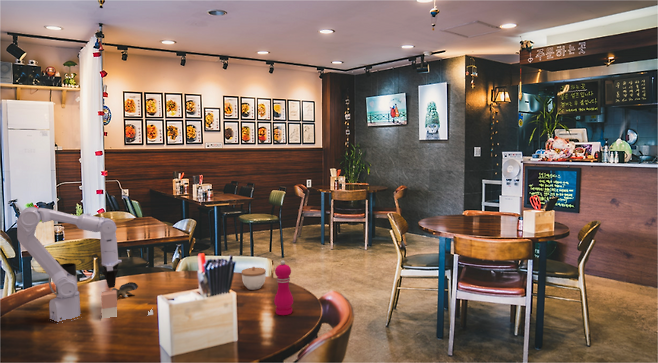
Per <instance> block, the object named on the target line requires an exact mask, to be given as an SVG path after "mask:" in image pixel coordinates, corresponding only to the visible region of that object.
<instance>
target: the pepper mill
mask: <svg viewBox="0 0 658 363" xmlns="http://www.w3.org/2000/svg"><path fill="white" fill-rule="evenodd" d="M291 273H292V268H291V266H290V265H288V264H286V261H285V260H281V261H280V264H279V265H277V266H276V267H275V269H274V274H275V276H276V282H277V291H276V293H275V296H274V300H273V301H274V302H273V303H274V305H275V306H276V307H275V314H276V315H279V316H288V315H291V314H292V313H293V306H292V305H293V304H294V297H293V294H292V292H291V290H290V284H289V283H290V281H291V279H290V278H291V277H290V275H291Z"/></svg>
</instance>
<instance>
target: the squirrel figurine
mask: <svg viewBox="0 0 658 363" xmlns="http://www.w3.org/2000/svg"><path fill="white" fill-rule="evenodd" d="M138 288H139V285H138V283H136V282H132V281H129V282H126V283H124V284H122V285H120V286H119V288H116V287H113V288H111V290H117V300H118V299H119V298H120V297H121V296H122V298H123V297H124V298H125V297H128V298H129V296H128V295H132V294H133V293H132V292H131V291H136V290H137V289H138ZM132 296H133V295H132Z"/></svg>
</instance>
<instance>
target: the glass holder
mask: <svg viewBox="0 0 658 363" xmlns="http://www.w3.org/2000/svg"><path fill="white" fill-rule="evenodd" d="M59 265H60V266H61V267H62V268H63V269H64V270H66V271H67V272H68V273H69V274H70V275H73V276H75V277H76V279H77V280H78V276H77V274H78V273H77V266H76V265H77V264H76V263H74V262H73V263H72V262H67V263H66V262H65V263H59ZM51 281H52V279H51V277H50V276H49V275H48V285H49V289H50V291H51V293H53V294H54V295H55V298H56V297H57V294H59V293H58V289H57V287H56V286H55V291H54V289H53V287H52V283H51ZM77 291H79V288H77Z"/></svg>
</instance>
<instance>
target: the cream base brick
mask: <svg viewBox="0 0 658 363" xmlns="http://www.w3.org/2000/svg"><path fill="white" fill-rule="evenodd" d="M100 310H101V313H102V319H103V318H110V317H117V310H118V306H117V307H112V308H105V309H102V307H101V308H100Z"/></svg>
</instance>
